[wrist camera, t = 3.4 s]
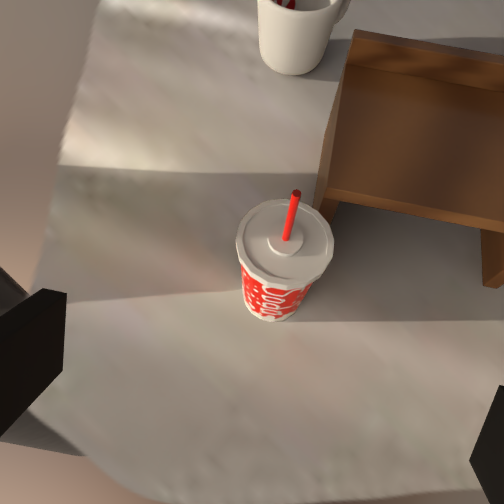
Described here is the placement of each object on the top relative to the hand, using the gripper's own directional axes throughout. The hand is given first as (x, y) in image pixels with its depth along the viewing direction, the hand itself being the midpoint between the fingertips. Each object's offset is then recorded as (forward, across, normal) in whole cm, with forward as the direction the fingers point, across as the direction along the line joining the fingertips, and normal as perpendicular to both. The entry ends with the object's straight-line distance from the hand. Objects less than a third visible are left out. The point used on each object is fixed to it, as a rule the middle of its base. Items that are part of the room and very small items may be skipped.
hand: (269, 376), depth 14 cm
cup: (+41, -2, +14) cm, 43 cm away
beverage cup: (+22, 0, -6) cm, 22 cm away
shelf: (+29, +10, +2) cm, 31 cm away
